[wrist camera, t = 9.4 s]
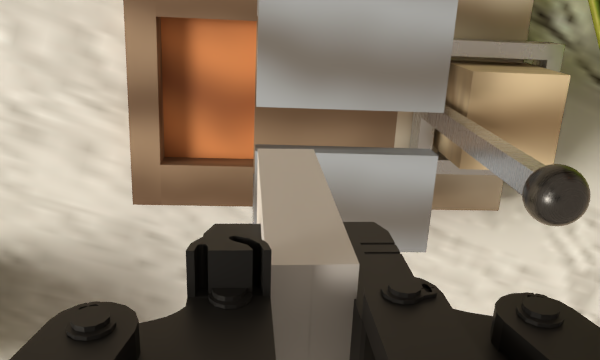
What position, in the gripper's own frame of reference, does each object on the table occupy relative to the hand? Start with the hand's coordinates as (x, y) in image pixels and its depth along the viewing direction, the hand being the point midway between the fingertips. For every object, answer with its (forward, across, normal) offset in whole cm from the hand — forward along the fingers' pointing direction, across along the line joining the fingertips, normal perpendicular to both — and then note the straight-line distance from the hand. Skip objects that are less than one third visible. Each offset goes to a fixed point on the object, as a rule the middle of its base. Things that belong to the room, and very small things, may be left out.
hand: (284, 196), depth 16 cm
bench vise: (+27, +5, -2) cm, 27 cm away
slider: (+24, +15, -2) cm, 28 cm away
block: (+24, +15, -2) cm, 29 cm away
